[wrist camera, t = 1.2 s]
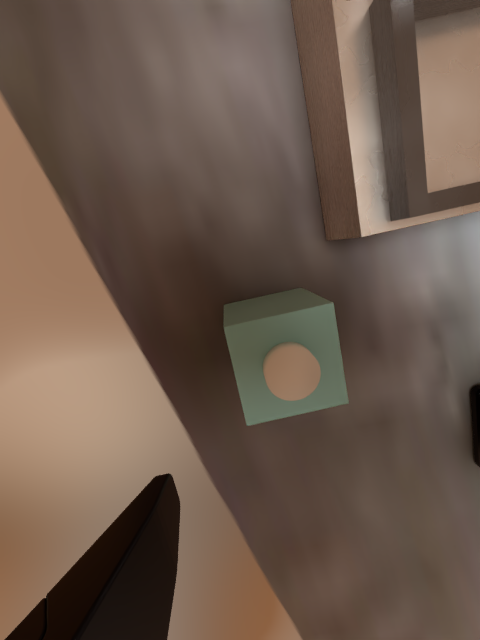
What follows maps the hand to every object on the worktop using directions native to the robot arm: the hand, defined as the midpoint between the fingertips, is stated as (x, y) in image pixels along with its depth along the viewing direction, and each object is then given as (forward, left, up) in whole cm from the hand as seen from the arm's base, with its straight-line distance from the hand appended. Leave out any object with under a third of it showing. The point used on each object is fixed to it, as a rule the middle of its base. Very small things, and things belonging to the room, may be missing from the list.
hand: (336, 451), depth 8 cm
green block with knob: (0, 0, -12) cm, 12 cm away
